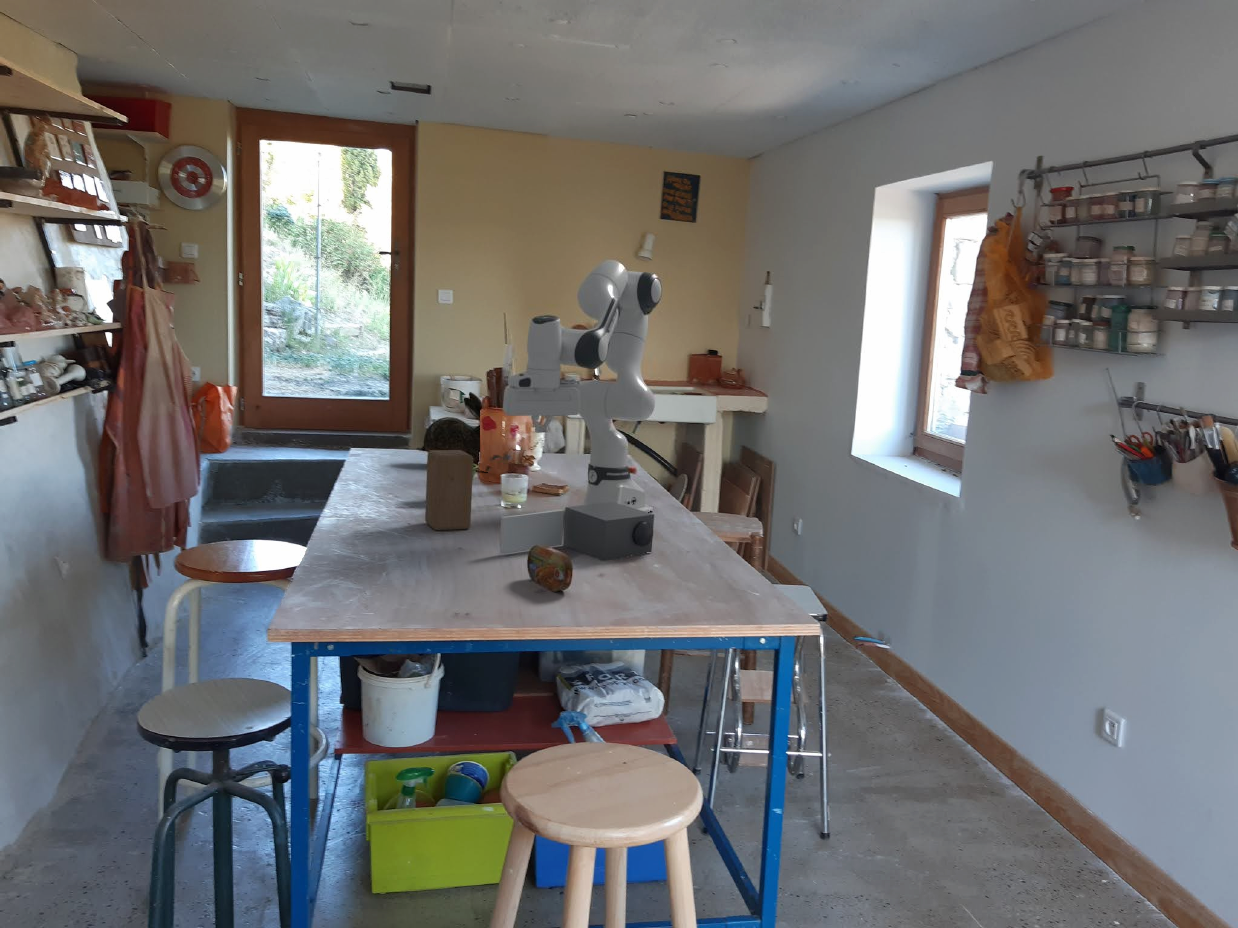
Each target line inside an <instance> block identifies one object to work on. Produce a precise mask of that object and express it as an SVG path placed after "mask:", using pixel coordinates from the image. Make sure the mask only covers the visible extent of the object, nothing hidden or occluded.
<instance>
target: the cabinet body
mask: <svg viewBox="0 0 1238 928" xmlns="http://www.w3.org/2000/svg"><path fill="white" fill-rule="evenodd" d="M654 520H655V514H654V513H652V512H649V513H648V512H644V511H641V510H638V509H635V508H631V507H628V506H625V505H622V504H618V503H615V502H608V503H599V504H590V505H583V504H582V505H574V506H566V507H565V508H564V523H563V530H564V531H563V539H562V546H563V547H566V548H570V549H571V550H575V551H577V552H580V553H582V554H585V555H588V556H590V557H592V558H595V559H597V558H598V559H597V560H600V561H609V560H615V558H617V559H622V558H621V557H623V558H628V557H627V556H629V557H632V556H631V555H635V556H638V555H637V554H641V555H644V554H643V553H647V552H651V553H652V549H653V539H654V538H653V537H654V525H655V521H654ZM647 554H648V553H647Z"/></svg>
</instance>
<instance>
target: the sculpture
mask: <svg viewBox="0 0 1238 928" xmlns="http://www.w3.org/2000/svg"><path fill="white" fill-rule="evenodd" d="M463 402H464V406H465V407H466V408H467V410H468V411H469V412H470V414H471V415H473V416H474V418H476V419H477V420H479V421H480V410H481V409H482V405H483V402H482V400H481V399H480V398H479V396H477V395H476V394H474V393H473V392H471V391H469V393H468V397H464V398H463ZM483 406H484V405H483ZM423 438H424V439H423V446H422V447H417V448H416V450H418V451H419V452H426V453H428V452H429V451H431V450H461V451H464V452H465V453H467V454H469V455H471V456H472V457H473V464H476V465H477V466H478V465H479V464H478V462H479V452H480V424H478V425H477V426H471V425H469V424H468V423H466V422H465V421H464V420H461V419H460V418H457V417H452V416H444V417H441V418H439V419H436V420H435V421H433V422H432V423H431V424H430V425H429V426H428V428H427V429H426V432H425V434H424V437H423Z"/></svg>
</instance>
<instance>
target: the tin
mask: <svg viewBox="0 0 1238 928" xmlns="http://www.w3.org/2000/svg"><path fill="white" fill-rule="evenodd" d="M526 561H527V563H526V567H527V573H528V576H529V578H530V579H531V581H532V582H533V581H534V582H533V583H535V584H537V585H539V586H541V587H543V588H545V589H547V590H549V591H551V590H552V591H551V592H553V593H555V592H561V591H562V592H563V591H565V590H568V588H569V587H570V586H571V585H572V580H573V574H574V573H573V570H574V566H573V563H572V560H571V559H570V557H569V556H568V555H567V554H566V553H564V552H561V551H559V550H557V549H555V548H553V547H548V546H538V545H536V546H534V547H532V548H531V550H529V552H528V555H527V559H526Z"/></svg>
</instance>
